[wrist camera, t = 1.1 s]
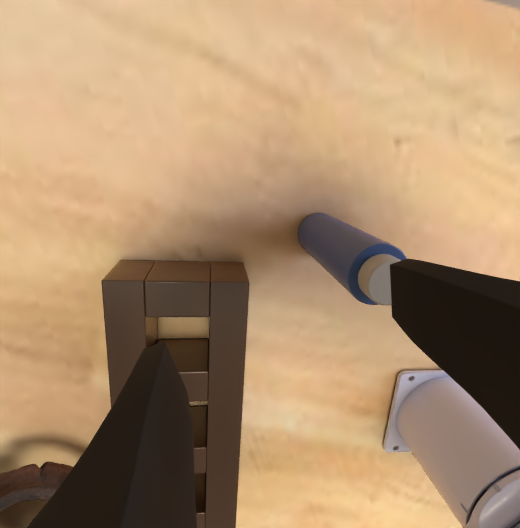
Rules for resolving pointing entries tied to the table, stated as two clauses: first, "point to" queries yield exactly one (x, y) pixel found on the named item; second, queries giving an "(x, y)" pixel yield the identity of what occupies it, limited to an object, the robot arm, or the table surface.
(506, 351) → the robot arm
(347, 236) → the handle
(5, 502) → the brown open ring
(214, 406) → the holder
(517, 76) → the table surface
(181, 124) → the table surface
